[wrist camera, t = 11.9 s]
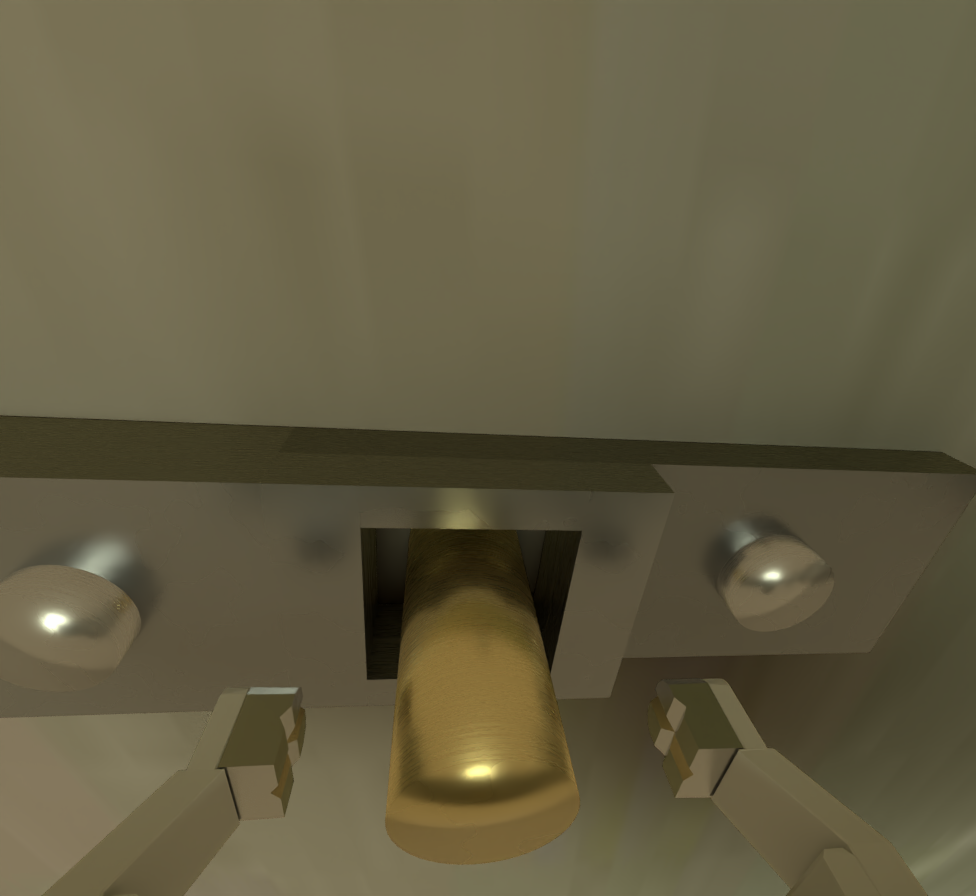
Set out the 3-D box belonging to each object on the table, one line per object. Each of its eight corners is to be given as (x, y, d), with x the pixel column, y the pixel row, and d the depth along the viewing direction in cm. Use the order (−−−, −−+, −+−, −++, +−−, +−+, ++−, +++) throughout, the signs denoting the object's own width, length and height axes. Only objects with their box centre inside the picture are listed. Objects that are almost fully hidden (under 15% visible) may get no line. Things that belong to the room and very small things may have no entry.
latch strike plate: (942, 452, 16) (1086, 524, 12) (840, 622, 20) (929, 714, 16) (-160, 410, 12) (-412, 498, 8) (-29, 633, 16) (-166, 760, 12)
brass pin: (534, 552, 16) (609, 820, 9) (446, 596, 17) (453, 881, 10) (482, 477, 15) (524, 733, 8) (387, 529, 15) (343, 812, 8)
